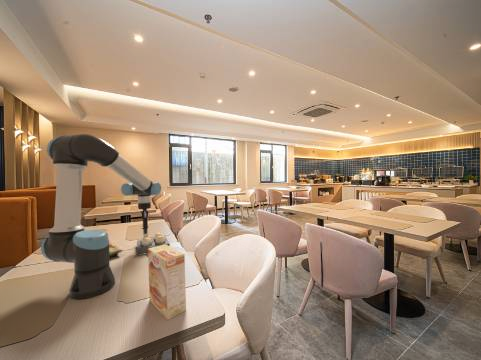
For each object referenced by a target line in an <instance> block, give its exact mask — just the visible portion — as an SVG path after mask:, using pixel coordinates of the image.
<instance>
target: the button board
mask: <svg viewBox="0 0 481 360" xmlns="http://www.w3.org/2000/svg"><path fill="white" fill-rule="evenodd" d="M163 236H164V235H163ZM150 238H151V245H150V246H146V247H142V243H141V239H138V240H136V249H137V251H136V252H137V256H140V255H143V254H144V253H146V254H147V253H148V249H149V248H152V247H156V246H160V245H164V244H166V245H168V246H170V245H171V244H170V242H169V240H168V238H167V237H166V236H164V243H163V244H158V245H157V244H156V241H155V237H150ZM170 247H171V246H170ZM139 254H140V255H139ZM144 255H145V254H144Z"/></svg>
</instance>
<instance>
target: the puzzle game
mask: <svg viewBox="0 0 481 360" xmlns="http://www.w3.org/2000/svg"><path fill="white" fill-rule="evenodd" d="M119 253H120V254H121V253H123V249H122V248H120V247H118V246H117V245H114V244H113V243H111V242H109V258H111V257H114V256H117V255H119Z"/></svg>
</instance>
